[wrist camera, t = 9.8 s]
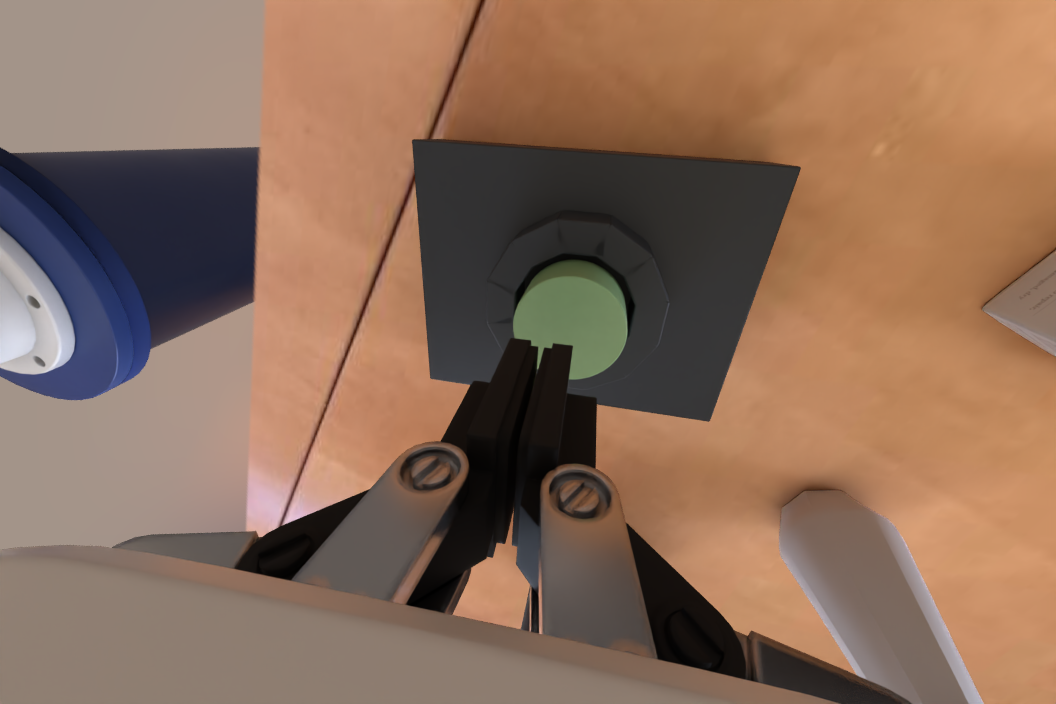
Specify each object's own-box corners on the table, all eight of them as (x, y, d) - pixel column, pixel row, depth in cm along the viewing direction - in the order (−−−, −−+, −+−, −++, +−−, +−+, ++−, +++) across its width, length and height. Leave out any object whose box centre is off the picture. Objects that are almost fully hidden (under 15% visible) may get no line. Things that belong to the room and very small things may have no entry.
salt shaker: (744, 518, 25) (854, 829, 14) (814, 462, 22) (1025, 798, 11) (823, 556, 25) (993, 891, 14) (902, 506, 22) (1196, 877, 11)
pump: (521, 347, 17) (510, 371, 15) (526, 253, 15) (515, 269, 13) (616, 359, 16) (616, 387, 14) (634, 265, 14) (638, 283, 12)
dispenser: (450, 352, 23) (413, 401, 19) (440, 139, 18) (385, 139, 13) (697, 387, 21) (720, 451, 17) (770, 162, 16) (831, 171, 12)
